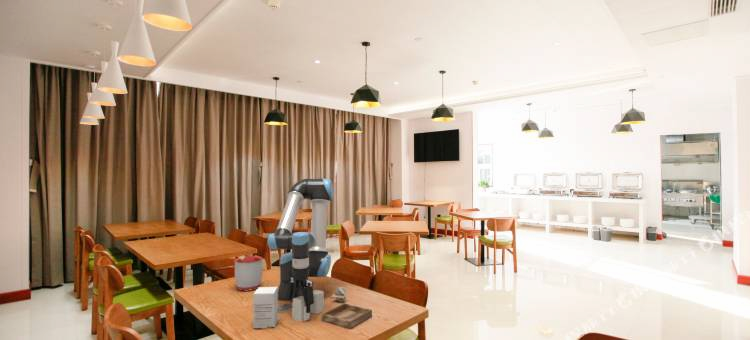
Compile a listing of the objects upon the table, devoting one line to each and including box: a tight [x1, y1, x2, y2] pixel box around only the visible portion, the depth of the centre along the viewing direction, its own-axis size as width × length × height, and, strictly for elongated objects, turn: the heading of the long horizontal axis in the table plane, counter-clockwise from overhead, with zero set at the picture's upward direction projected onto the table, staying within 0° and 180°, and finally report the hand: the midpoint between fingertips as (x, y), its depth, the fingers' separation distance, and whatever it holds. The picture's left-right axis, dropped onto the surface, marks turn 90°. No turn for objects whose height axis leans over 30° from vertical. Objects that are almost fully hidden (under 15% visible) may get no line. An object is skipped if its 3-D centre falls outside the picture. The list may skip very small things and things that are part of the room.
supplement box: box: [252, 286, 279, 329], centre depth 152 cm, size 9×9×15 cm
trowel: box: [278, 303, 292, 313], centre depth 166 cm, size 16×6×2 cm, turn 146°
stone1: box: [292, 296, 305, 322], centre depth 159 cm, size 5×5×9 cm
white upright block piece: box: [310, 289, 325, 315], centre depth 167 cm, size 5×5×9 cm
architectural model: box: [330, 286, 347, 303], centre depth 179 cm, size 3×7×7 cm, turn 74°
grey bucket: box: [233, 253, 264, 291], centre depth 203 cm, size 16×17×20 cm
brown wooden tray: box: [321, 302, 373, 330], centre depth 158 cm, size 16×16×3 cm
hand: (300, 317), depth 158 cm, fingers open, 7 cm apart
